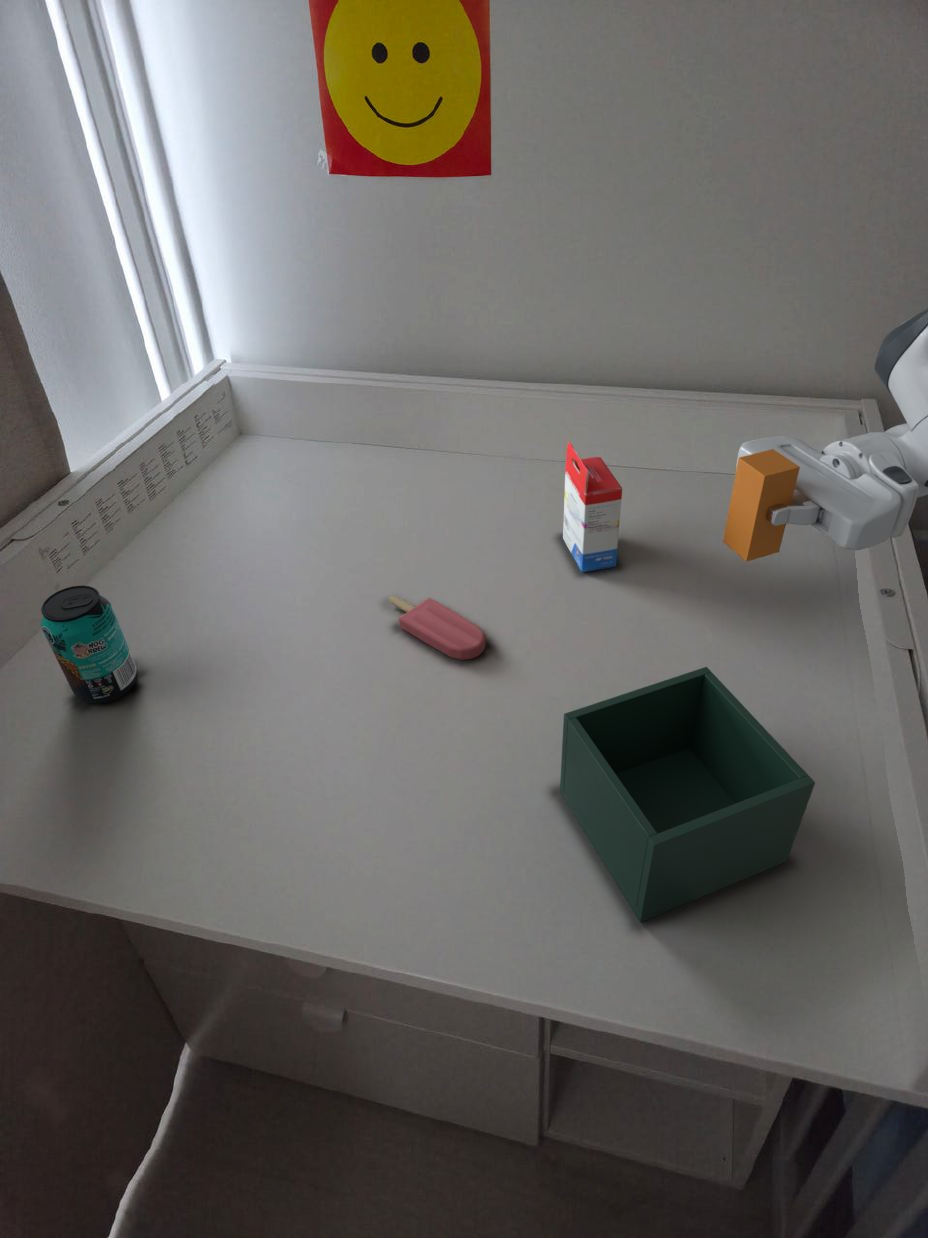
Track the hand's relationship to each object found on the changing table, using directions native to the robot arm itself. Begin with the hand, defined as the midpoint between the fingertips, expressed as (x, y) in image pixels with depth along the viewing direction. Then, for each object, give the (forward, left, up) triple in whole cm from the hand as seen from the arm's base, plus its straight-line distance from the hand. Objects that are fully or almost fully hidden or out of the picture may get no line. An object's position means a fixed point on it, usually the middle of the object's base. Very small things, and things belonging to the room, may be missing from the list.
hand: (753, 504), depth 90 cm
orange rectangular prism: (0, -1, -6) cm, 6 cm away
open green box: (-25, +25, -13) cm, 38 cm away
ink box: (+16, +11, -14) cm, 24 cm away
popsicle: (+10, +35, -14) cm, 39 cm away
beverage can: (+16, +72, -14) cm, 75 cm away
